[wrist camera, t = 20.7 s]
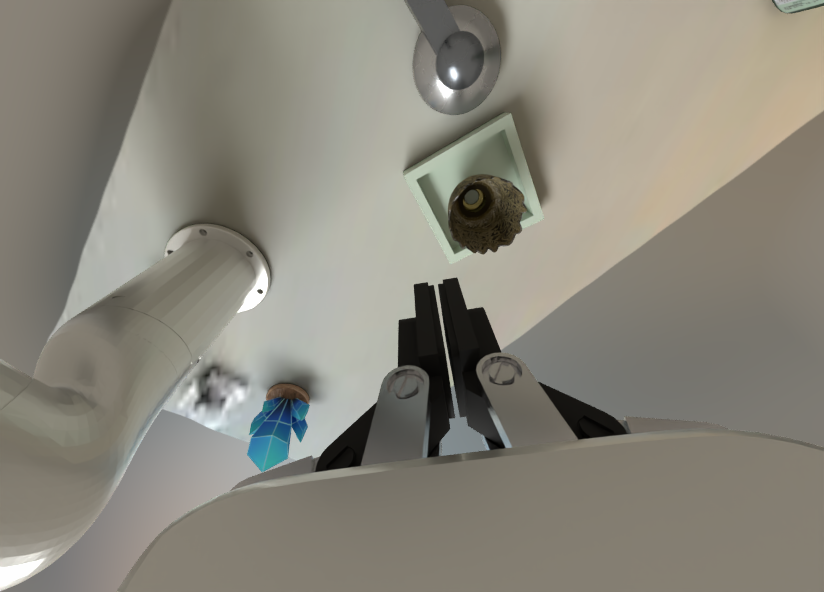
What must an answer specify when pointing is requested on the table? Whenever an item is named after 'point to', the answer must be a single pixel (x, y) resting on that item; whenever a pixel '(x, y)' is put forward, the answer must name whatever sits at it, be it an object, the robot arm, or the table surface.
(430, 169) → the tray
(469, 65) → the crank
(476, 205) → the ornate brass lampshade
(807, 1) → the coffee jar
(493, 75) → the crank base
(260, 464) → the gemstone
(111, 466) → the robot arm
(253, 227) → the table surface
